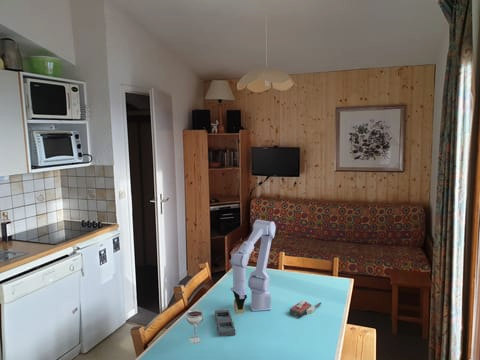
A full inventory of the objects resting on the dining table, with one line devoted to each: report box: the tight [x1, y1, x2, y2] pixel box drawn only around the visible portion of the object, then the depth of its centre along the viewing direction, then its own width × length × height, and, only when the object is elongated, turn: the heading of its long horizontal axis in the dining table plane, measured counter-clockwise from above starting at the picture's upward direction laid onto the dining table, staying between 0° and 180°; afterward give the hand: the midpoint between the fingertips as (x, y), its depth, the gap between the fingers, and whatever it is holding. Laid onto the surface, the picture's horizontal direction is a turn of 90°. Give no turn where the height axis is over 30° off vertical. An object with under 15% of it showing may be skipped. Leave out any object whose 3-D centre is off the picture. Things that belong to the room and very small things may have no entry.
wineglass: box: [186, 308, 204, 344], centre depth 158 cm, size 7×7×12 cm
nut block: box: [233, 298, 245, 315], centre depth 174 cm, size 4×4×5 cm
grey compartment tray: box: [214, 309, 236, 337], centre depth 172 cm, size 7×20×2 cm, turn 10°
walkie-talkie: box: [289, 300, 322, 318], centre depth 187 cm, size 9×4×20 cm
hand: (239, 307), depth 174 cm, fingers closed on nut block, 4 cm apart
